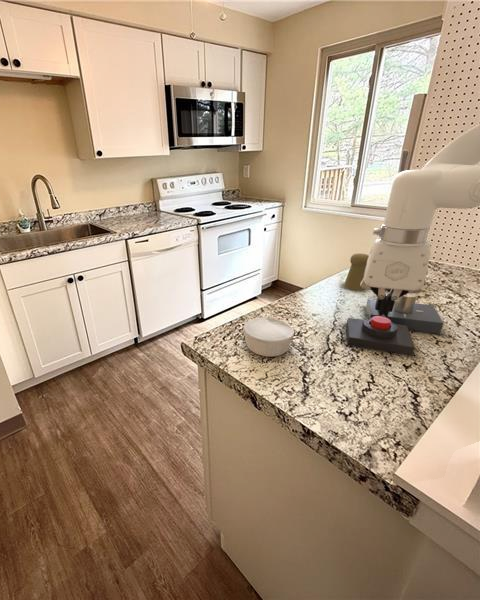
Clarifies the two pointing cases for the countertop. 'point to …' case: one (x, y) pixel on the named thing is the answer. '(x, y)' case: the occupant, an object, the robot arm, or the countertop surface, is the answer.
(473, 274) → the countertop surface
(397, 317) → the control panel
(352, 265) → the cork
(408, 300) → the dial
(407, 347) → the switch block
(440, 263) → the countertop surface
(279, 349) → the ramekin
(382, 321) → the power button
